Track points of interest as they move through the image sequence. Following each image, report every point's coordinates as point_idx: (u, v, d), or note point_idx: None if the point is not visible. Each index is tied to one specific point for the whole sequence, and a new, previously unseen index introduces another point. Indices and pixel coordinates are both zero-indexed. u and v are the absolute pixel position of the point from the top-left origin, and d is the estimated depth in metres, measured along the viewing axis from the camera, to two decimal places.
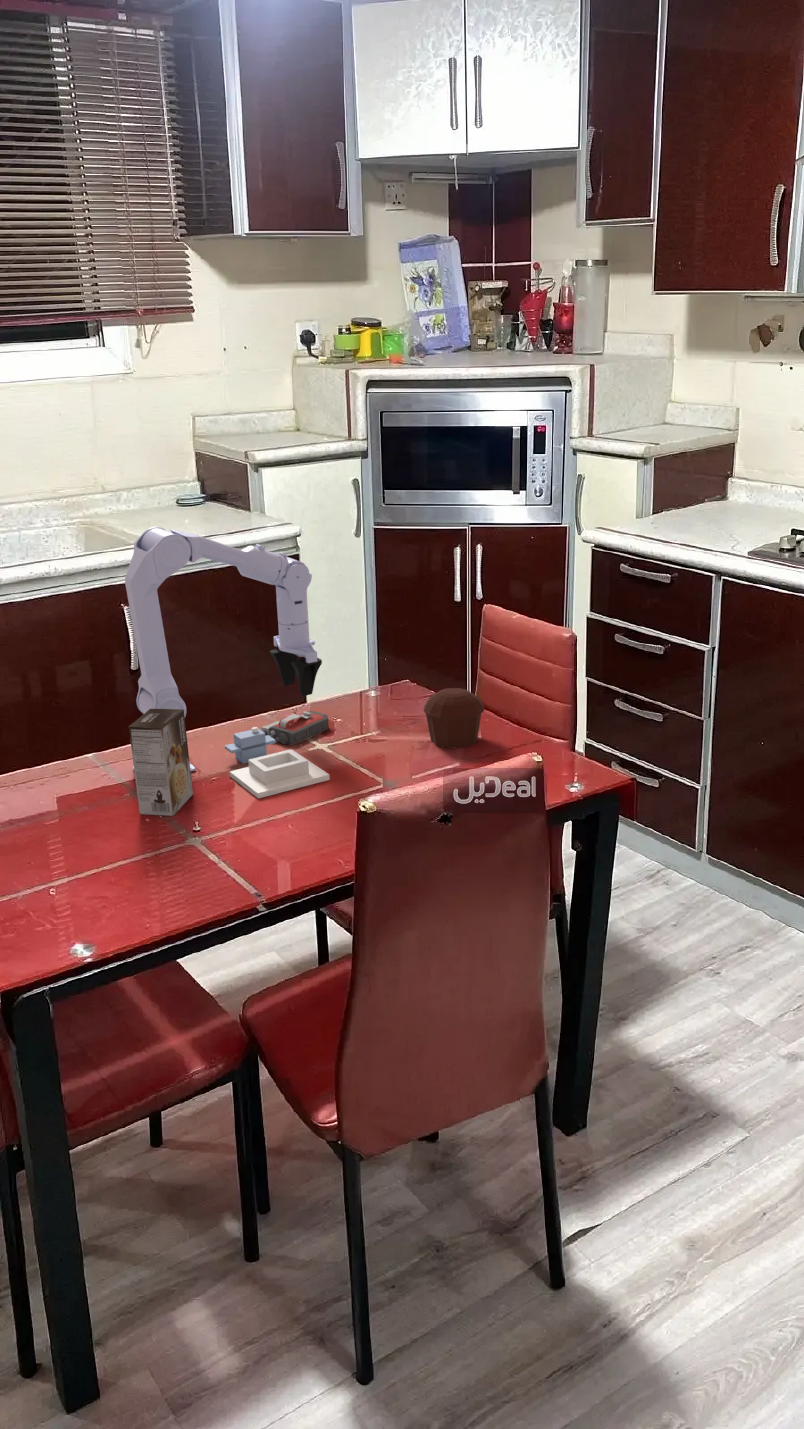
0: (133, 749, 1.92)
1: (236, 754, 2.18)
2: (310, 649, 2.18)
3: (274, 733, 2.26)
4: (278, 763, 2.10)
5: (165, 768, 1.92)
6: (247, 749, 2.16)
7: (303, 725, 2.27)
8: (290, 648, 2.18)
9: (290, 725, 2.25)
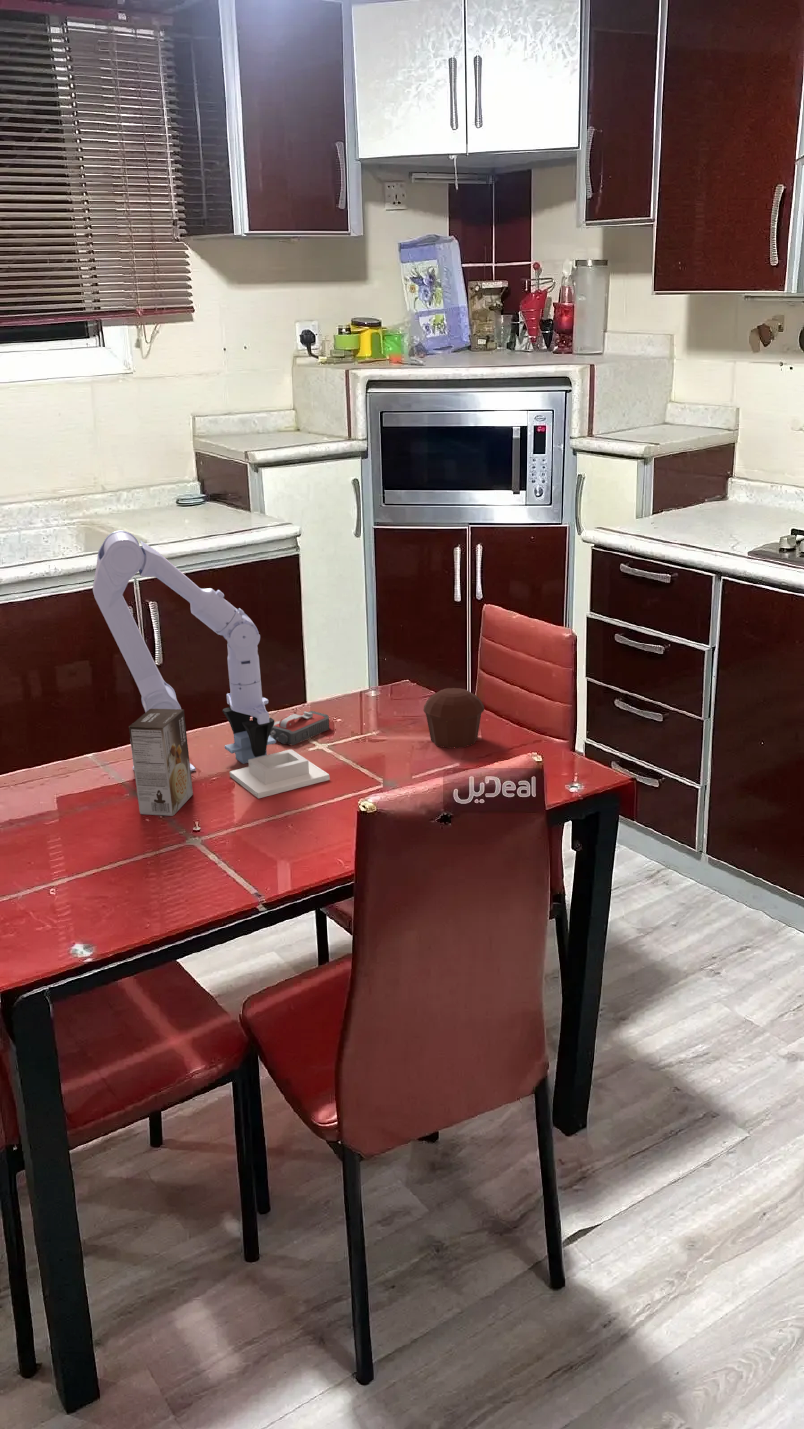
0: (133, 749, 1.92)
1: (236, 754, 2.18)
2: (262, 709, 2.11)
3: (274, 733, 2.26)
4: (278, 763, 2.10)
5: (165, 768, 1.92)
6: (247, 749, 2.16)
7: (303, 725, 2.27)
8: (242, 708, 2.12)
9: (290, 725, 2.26)
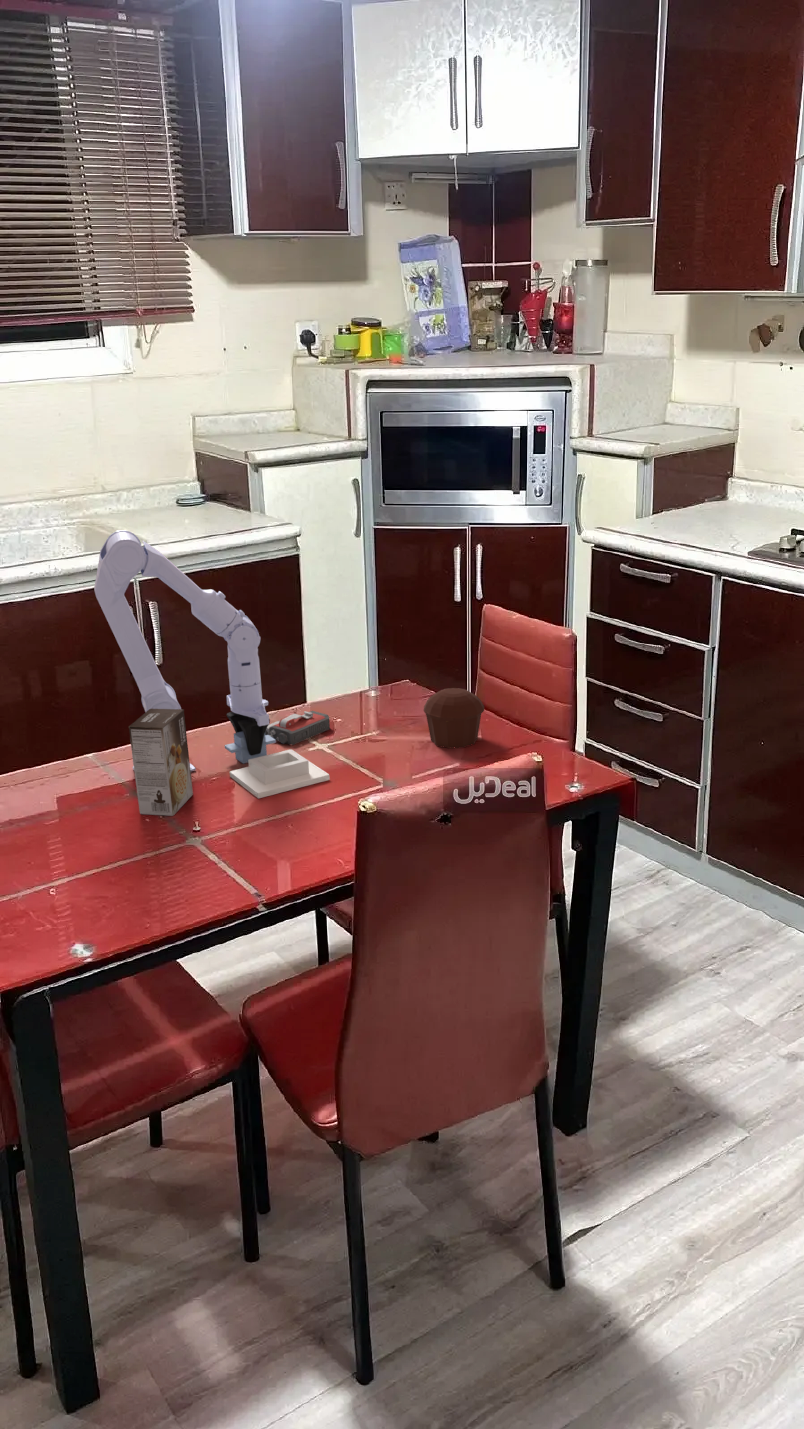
0: (133, 749, 1.92)
1: (236, 754, 2.18)
2: (262, 711, 2.11)
3: (274, 733, 2.26)
4: (278, 763, 2.10)
5: (165, 768, 1.92)
6: (247, 749, 2.15)
7: (303, 725, 2.27)
8: (242, 710, 2.12)
9: (290, 725, 2.26)
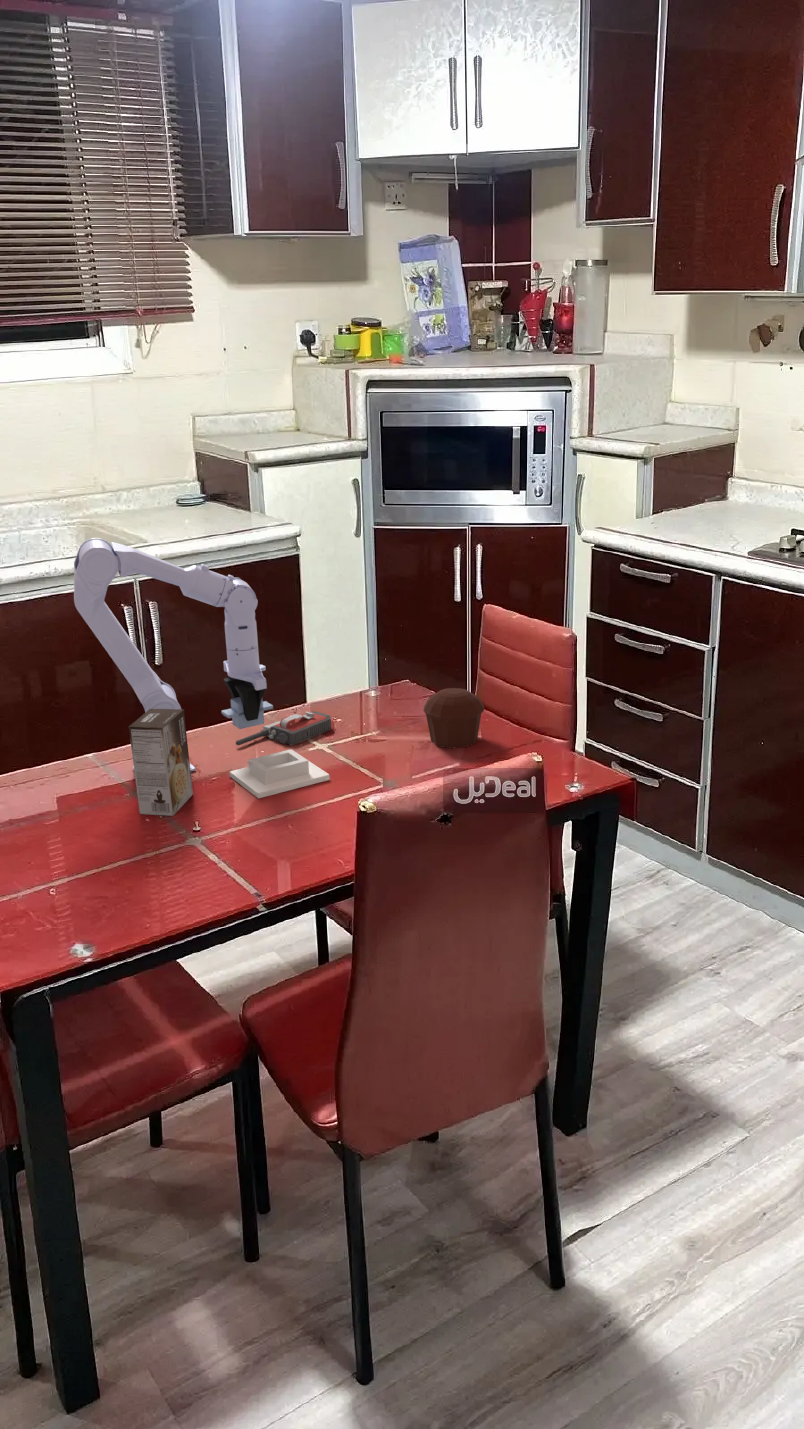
0: (133, 749, 1.92)
1: (233, 720, 2.15)
2: (259, 675, 2.09)
3: (275, 732, 2.26)
4: (278, 763, 2.10)
5: (165, 768, 1.92)
6: (244, 714, 2.13)
7: (304, 725, 2.26)
8: (239, 674, 2.09)
9: (291, 725, 2.26)
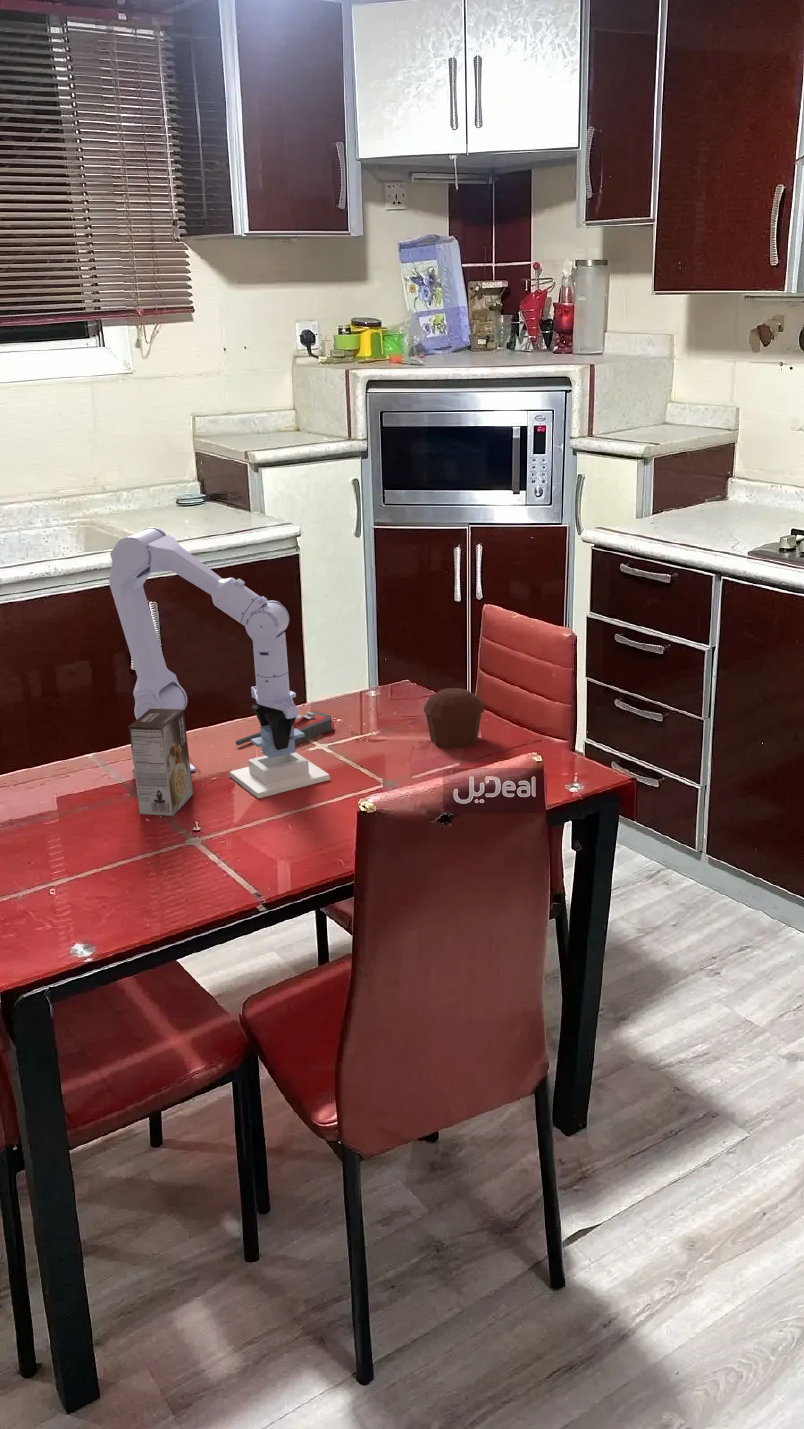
0: (133, 749, 1.92)
1: (263, 748, 2.06)
2: (290, 703, 2.00)
3: None
4: (278, 763, 2.10)
5: (165, 768, 1.92)
6: None
7: (304, 725, 2.26)
8: (269, 702, 2.00)
9: None
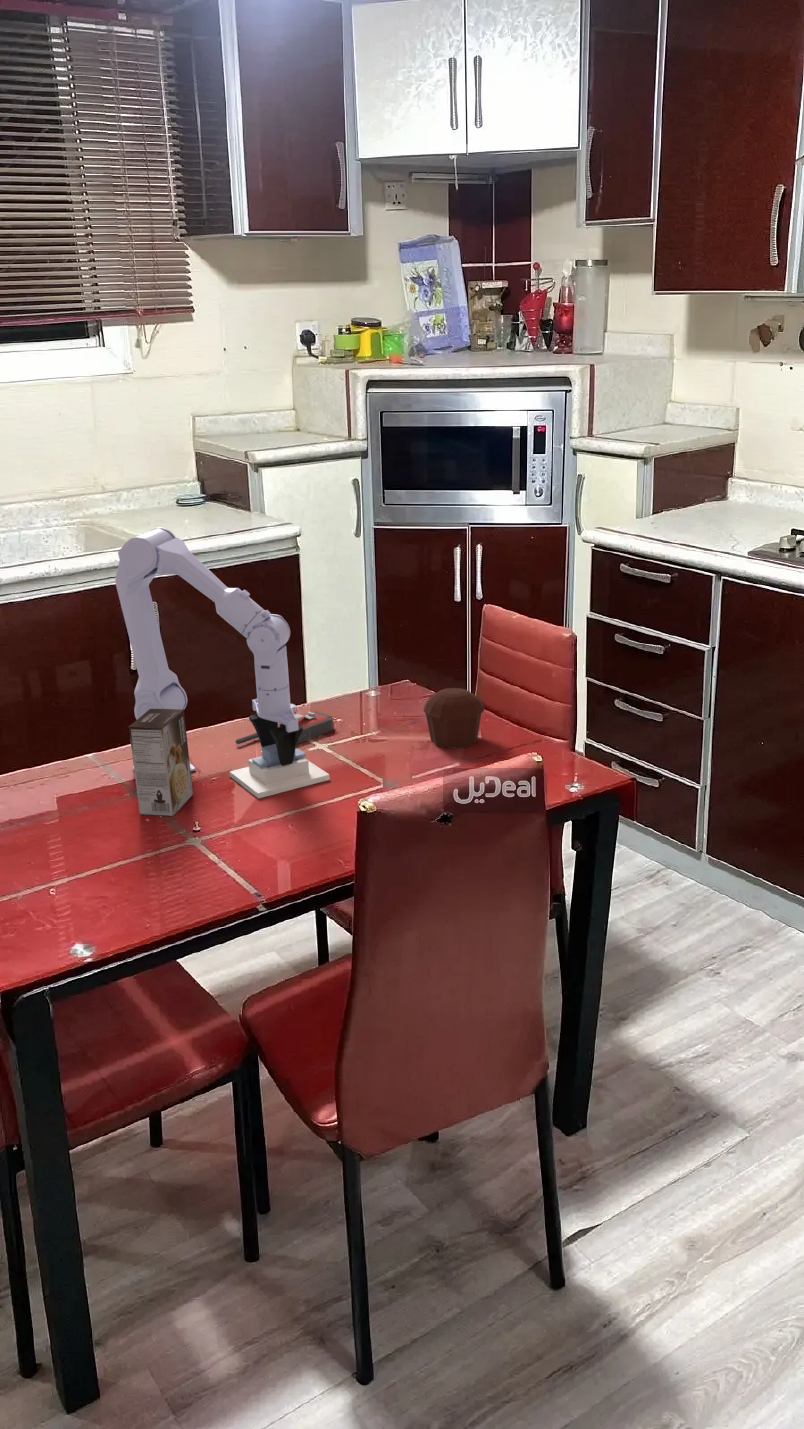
0: (133, 749, 1.92)
1: None
2: (291, 716, 2.01)
3: None
4: None
5: (165, 768, 1.92)
6: (276, 763, 2.06)
7: (304, 725, 2.26)
8: (270, 715, 2.01)
9: None
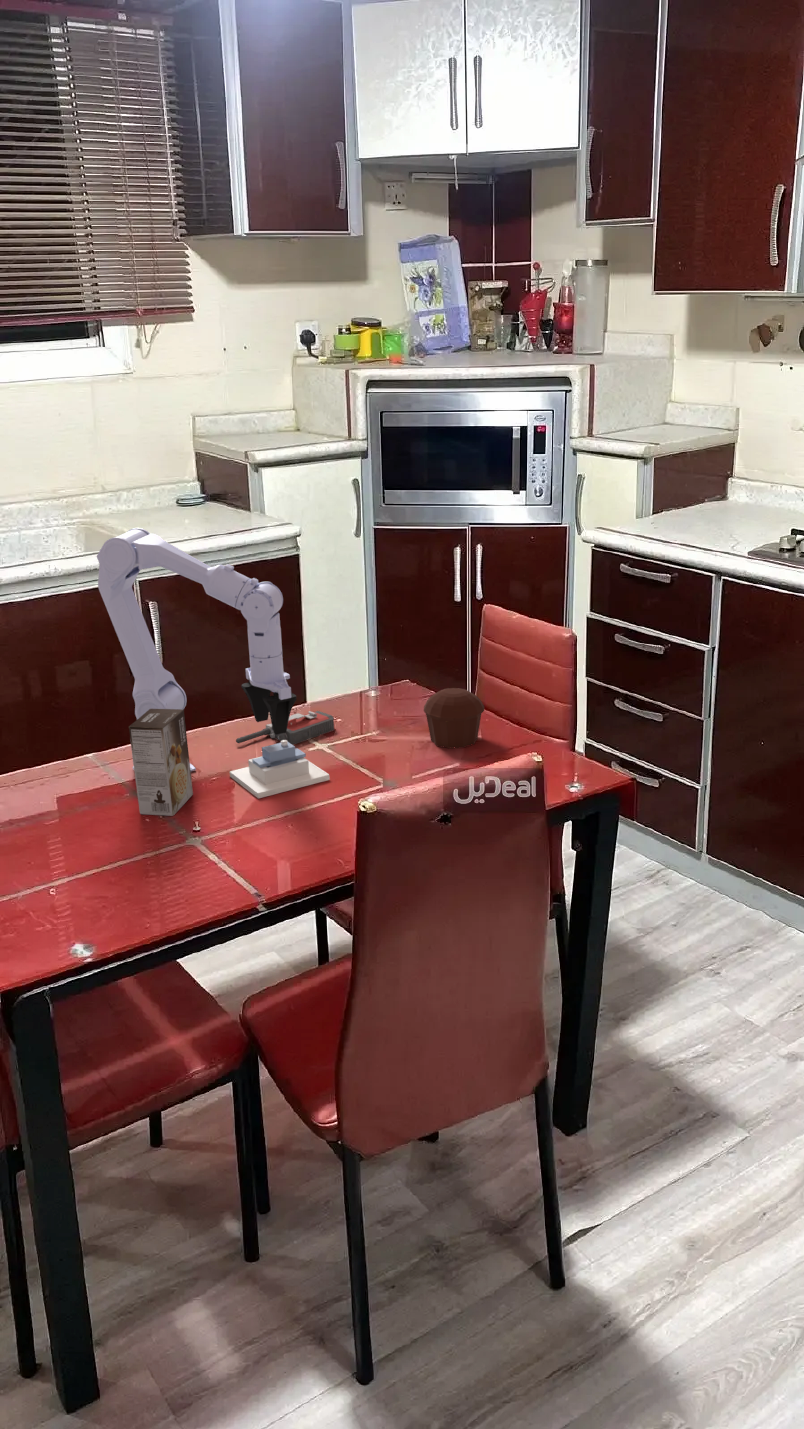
0: (133, 749, 1.92)
1: None
2: (284, 684, 2.00)
3: None
4: None
5: (165, 768, 1.92)
6: (276, 763, 2.06)
7: (305, 725, 2.26)
8: (262, 683, 2.01)
9: (292, 724, 2.26)
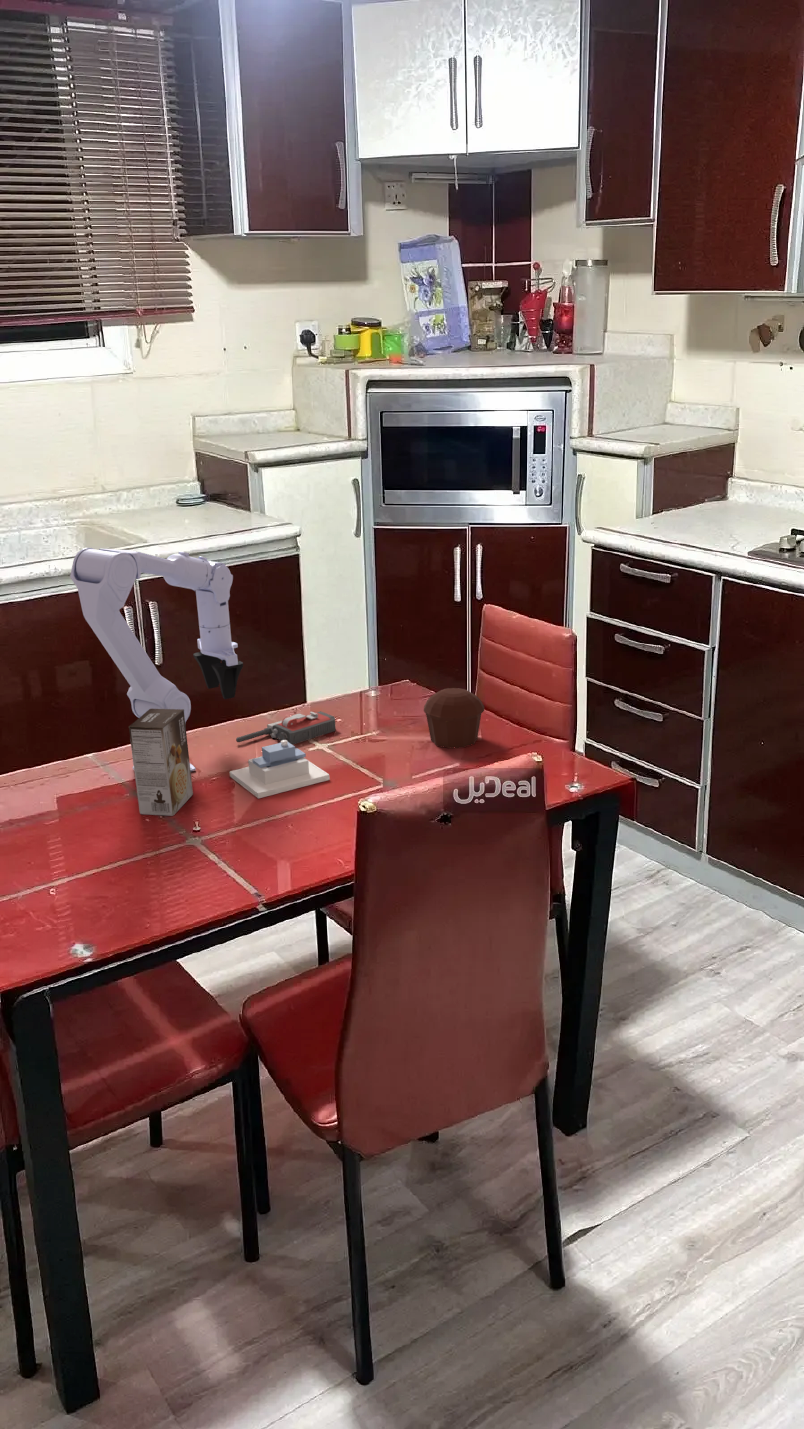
0: (133, 749, 1.92)
1: None
2: (231, 652, 2.16)
3: (276, 731, 2.27)
4: None
5: (165, 768, 1.92)
6: (276, 763, 2.06)
7: (305, 725, 2.26)
8: (211, 651, 2.16)
9: (292, 724, 2.26)
